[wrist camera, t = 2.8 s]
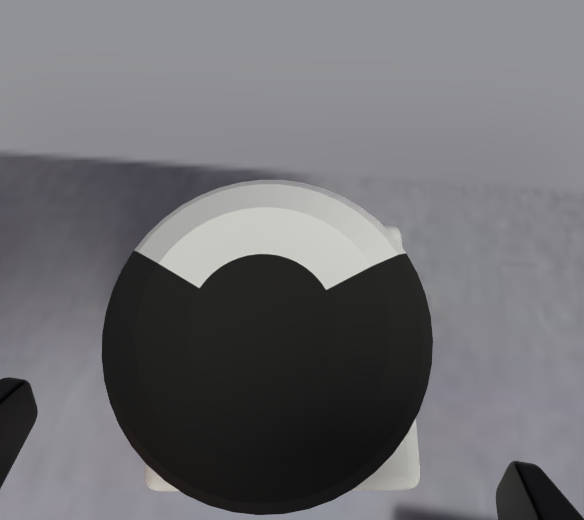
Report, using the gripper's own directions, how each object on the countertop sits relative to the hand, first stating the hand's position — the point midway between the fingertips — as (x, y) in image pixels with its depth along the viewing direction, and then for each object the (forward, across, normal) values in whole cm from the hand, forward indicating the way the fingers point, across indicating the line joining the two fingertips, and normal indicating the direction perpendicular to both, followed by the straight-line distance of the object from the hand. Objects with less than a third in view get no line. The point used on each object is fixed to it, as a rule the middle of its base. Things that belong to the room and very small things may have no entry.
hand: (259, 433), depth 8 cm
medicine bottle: (+9, 0, +6) cm, 11 cm away
